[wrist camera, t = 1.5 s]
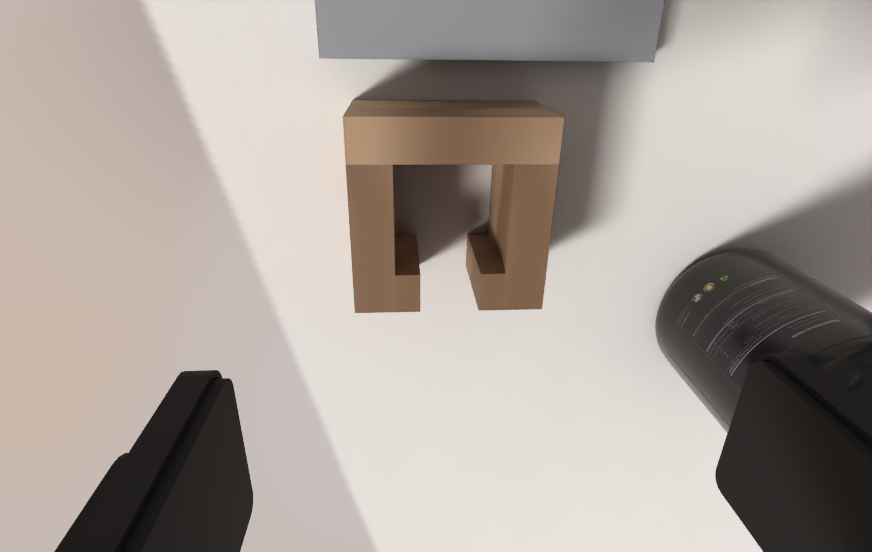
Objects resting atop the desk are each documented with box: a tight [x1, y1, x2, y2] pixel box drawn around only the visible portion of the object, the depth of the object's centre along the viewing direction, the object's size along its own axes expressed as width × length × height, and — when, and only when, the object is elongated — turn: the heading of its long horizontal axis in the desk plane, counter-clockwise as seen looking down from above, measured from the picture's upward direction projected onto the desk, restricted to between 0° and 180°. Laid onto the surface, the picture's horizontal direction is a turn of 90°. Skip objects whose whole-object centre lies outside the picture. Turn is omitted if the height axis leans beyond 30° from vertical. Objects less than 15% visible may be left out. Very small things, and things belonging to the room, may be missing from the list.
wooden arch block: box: [343, 100, 564, 313], centre depth 20 cm, size 7×7×4 cm
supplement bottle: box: [655, 250, 872, 433], centre depth 20 cm, size 7×7×12 cm
